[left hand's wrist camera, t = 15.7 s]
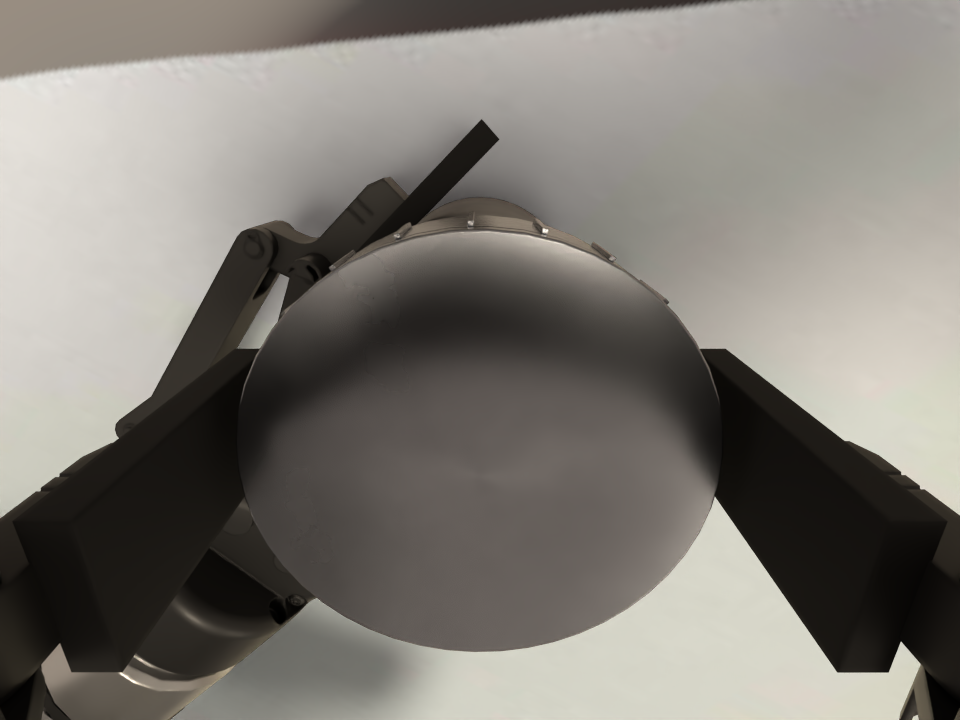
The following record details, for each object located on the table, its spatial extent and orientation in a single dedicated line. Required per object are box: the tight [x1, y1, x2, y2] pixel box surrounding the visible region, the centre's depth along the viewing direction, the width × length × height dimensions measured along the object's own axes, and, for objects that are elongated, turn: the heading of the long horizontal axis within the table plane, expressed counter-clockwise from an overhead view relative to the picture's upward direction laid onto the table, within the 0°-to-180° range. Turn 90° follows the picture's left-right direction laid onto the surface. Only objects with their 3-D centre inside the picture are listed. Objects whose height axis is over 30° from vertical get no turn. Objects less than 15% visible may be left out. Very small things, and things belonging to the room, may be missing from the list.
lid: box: [236, 212, 723, 652], centre depth 11 cm, size 9×9×2 cm
